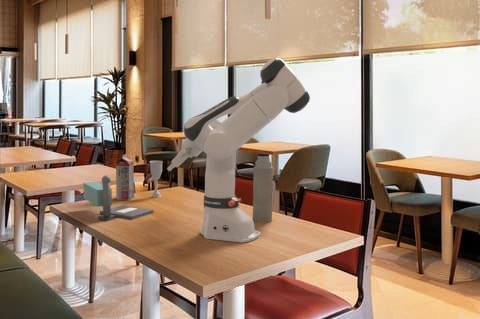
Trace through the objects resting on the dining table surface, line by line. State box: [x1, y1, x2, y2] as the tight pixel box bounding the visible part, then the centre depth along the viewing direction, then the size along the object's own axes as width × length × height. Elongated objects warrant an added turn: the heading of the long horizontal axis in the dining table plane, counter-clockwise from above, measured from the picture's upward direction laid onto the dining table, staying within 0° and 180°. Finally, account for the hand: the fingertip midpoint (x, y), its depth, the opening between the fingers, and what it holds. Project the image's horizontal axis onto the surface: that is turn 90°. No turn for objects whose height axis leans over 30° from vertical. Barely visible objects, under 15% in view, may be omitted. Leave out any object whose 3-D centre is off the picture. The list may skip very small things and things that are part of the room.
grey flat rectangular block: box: [99, 204, 155, 220], centre depth 207 cm, size 18×14×1 cm
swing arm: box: [82, 175, 113, 217], centre depth 204 cm, size 24×6×17 cm, turn 34°
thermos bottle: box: [252, 152, 274, 223], centre depth 198 cm, size 8×8×28 cm
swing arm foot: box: [97, 214, 117, 222], centre depth 197 cm, size 5×5×1 cm
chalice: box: [149, 160, 164, 199], centre depth 243 cm, size 7×7×18 cm
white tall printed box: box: [115, 153, 135, 201], centre depth 237 cm, size 7×7×22 cm
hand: (168, 169), depth 205 cm, fingers closed
